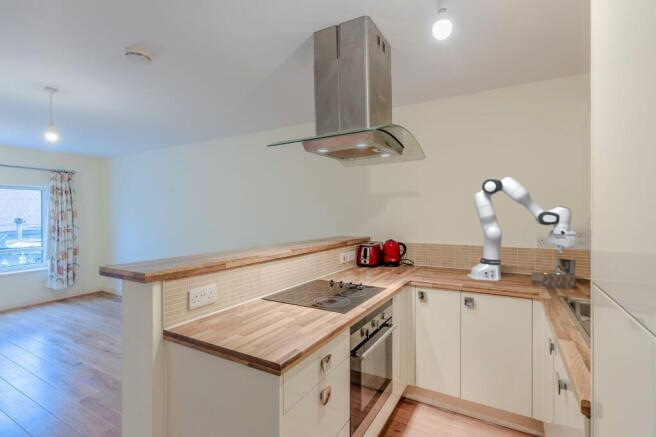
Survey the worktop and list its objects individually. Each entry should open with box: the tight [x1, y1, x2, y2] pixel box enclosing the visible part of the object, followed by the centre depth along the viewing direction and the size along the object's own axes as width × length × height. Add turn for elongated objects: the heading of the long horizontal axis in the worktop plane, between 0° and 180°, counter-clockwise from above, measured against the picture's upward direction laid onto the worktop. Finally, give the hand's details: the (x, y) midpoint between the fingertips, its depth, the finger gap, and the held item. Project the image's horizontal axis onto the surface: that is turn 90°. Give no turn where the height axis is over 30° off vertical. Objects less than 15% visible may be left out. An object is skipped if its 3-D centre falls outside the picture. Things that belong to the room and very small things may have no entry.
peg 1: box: [540, 271, 553, 275], centre depth 203 cm, size 6×6×9 cm
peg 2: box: [552, 271, 564, 275], centre depth 202 cm, size 6×6×9 cm
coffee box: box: [555, 257, 576, 285], centre depth 214 cm, size 9×6×16 cm
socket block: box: [531, 271, 575, 290], centre depth 203 cm, size 20×10×8 cm, turn 88°
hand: (559, 252), depth 202 cm, fingers closed
